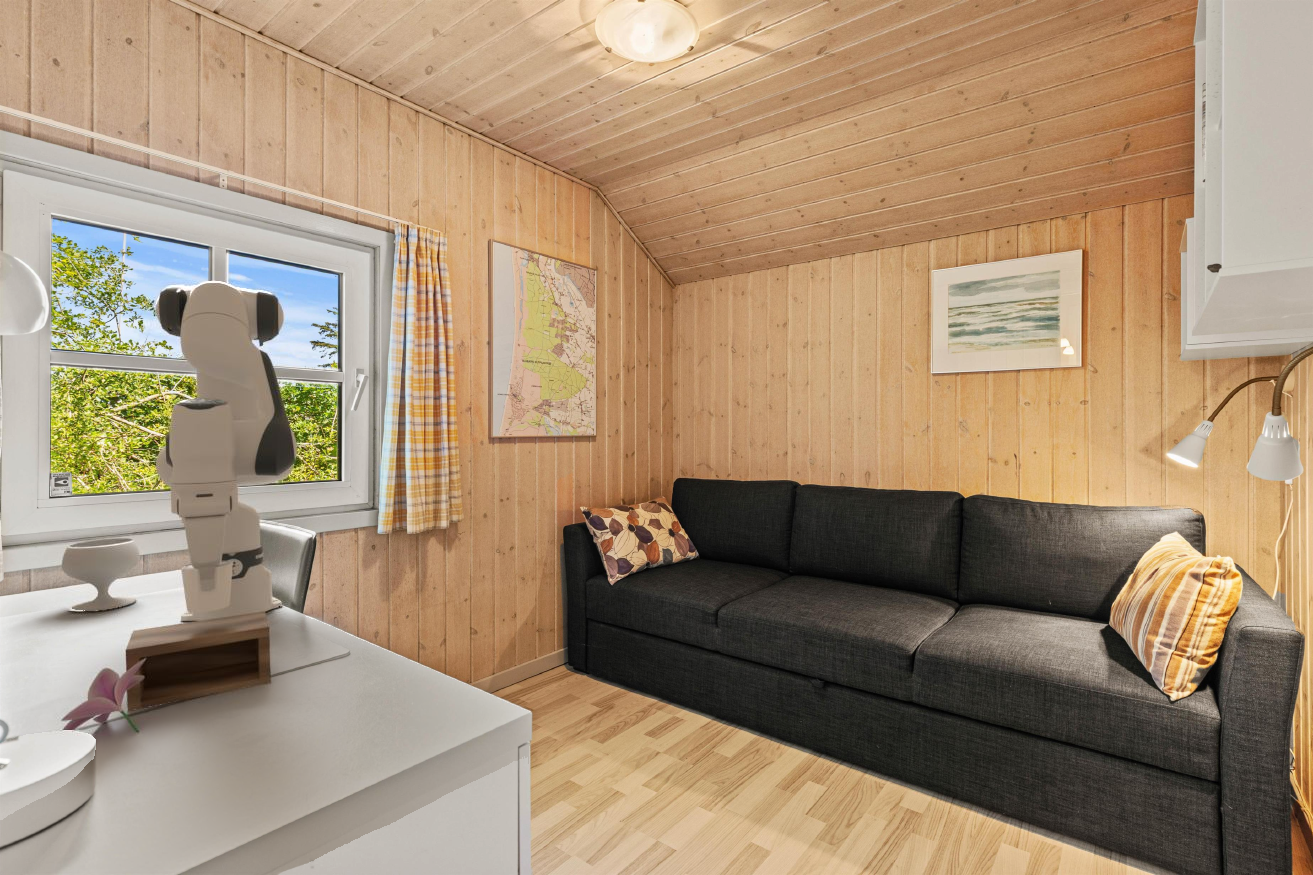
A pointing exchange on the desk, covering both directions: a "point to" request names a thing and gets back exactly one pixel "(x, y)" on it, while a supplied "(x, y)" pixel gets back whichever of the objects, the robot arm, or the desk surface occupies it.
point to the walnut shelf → (198, 659)
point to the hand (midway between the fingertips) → (208, 586)
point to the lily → (104, 697)
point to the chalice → (101, 568)
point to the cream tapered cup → (207, 599)
